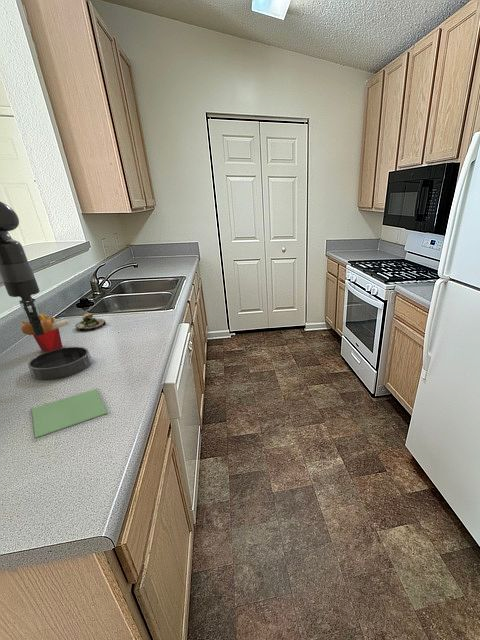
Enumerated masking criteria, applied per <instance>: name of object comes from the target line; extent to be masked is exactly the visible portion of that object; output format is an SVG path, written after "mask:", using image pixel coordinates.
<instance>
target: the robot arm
mask: <svg viewBox="0 0 480 640" xmlns="http://www.w3.org/2000/svg"><path fill="white" fill-rule="evenodd" d="M19 224H20V219H19V216H18V214H17V213H16V211H15V210H14V209H13V208H12V207H10V205H7V204H6V203H4V202H2V201H0V278H1V279H2V283H3V285H4V287H5V290H6V292H7V295H8V296H9V297H12V298H18V297H19V298H20V300H18V303H19V305H20V308H22V310H23V313H24V316H25V317H27V318H28V320H29V321H30V322H29V321H28V322H29V323H30V324H31V325H32V327H33V329H34V332H35V335H37V336H39V335H43V334H44V331H43V328H42V326H41V320H40V319H39V316H38V315H40V311H39V309H38V303H37V300H36V298H35V297H32V295H37V294H39V293H40V287H39V285H38V282H37V279H36V277H35V274H34V272H33V268H32V267H31V264H30V263H29V260H28V258H27V256H26V252H25V249H24V246H23V245H22V244H21V242H20V241H18V240H15V239H14V238H12V236H11V234H10V233H9V232H11V231H15V230H17V228H18V227H19Z"/></svg>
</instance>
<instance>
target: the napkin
mask: <svg viewBox="0 0 480 640" xmlns="http://www.w3.org/2000/svg"><path fill="white" fill-rule="evenodd" d="M31 414H32V423H33V430H34V437H35V439H38V438H40V437H43V436H46V435H50V434H52V433H55V432H59V431H61V430H63V429H66V428H69V427H73V426H76V425H79V424H81V423H84V422H87V421H90V420H93V419H95V418H98V417H99V418H100V417H101V416H104V415H107V414H108V410H107V409H106V407H105V404H104V402H103V400H102V398H101V395H100V394H99V392H98V389H97V388H94V389H90V390H88V391H84V392H80V393H78V394H74V395H71V396H68V397H67V396H66V397H65V398H61V399H58V400H55V401H51V402H48V403H45V404H41V405H38V406H35V407H32V408H31Z"/></svg>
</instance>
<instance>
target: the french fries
mask: <svg viewBox="0 0 480 640" xmlns="http://www.w3.org/2000/svg"><path fill="white" fill-rule="evenodd" d="M38 316H39V319H40V320H42V319H47V320H49V321H51V322H52V324H54V323H55V319H56V318H55V317H54V315H50V318H49V317H48V315H47V314H44V313H39V315H38ZM27 322H30V321H29V319H28V320H27ZM27 322H26V321H24V320H21V321H20V323H21V324H22V325H23V324H24V323H27ZM32 336H33V338H34V340H35V342H36V344H37V345H38V347H39V349H40V350H41V351H42V352H48V351H51V350H56V349H60V348H63V341H62V338H61V334H60V328H57V329H54V330H51V331H48V332H44V334H43V335H39V336H37V335H35V334H34V335H32Z"/></svg>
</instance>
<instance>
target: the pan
mask: <svg viewBox="0 0 480 640" xmlns="http://www.w3.org/2000/svg"><path fill="white" fill-rule="evenodd" d="M92 362H93V361H92V357H91V354H90V351H89V349H88V348H85V347H83V346H66V347H61V348H59V349H56V350H51V351H48V352H47V351H44V352H43V353H41V354H38V355H36V356H35V357H33V358H31V359H30V360H29V362H28V363H27V366H28V369H29V371H30V373H31V376H32V377H33V378H34V379H35V380H39V381H51V380H59V379H64V378H68V377H71V376H74V375H77V374H79V373H81V372H83V371H84V370H86V369H87V368H89V367H90V366H91V365H92Z"/></svg>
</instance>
